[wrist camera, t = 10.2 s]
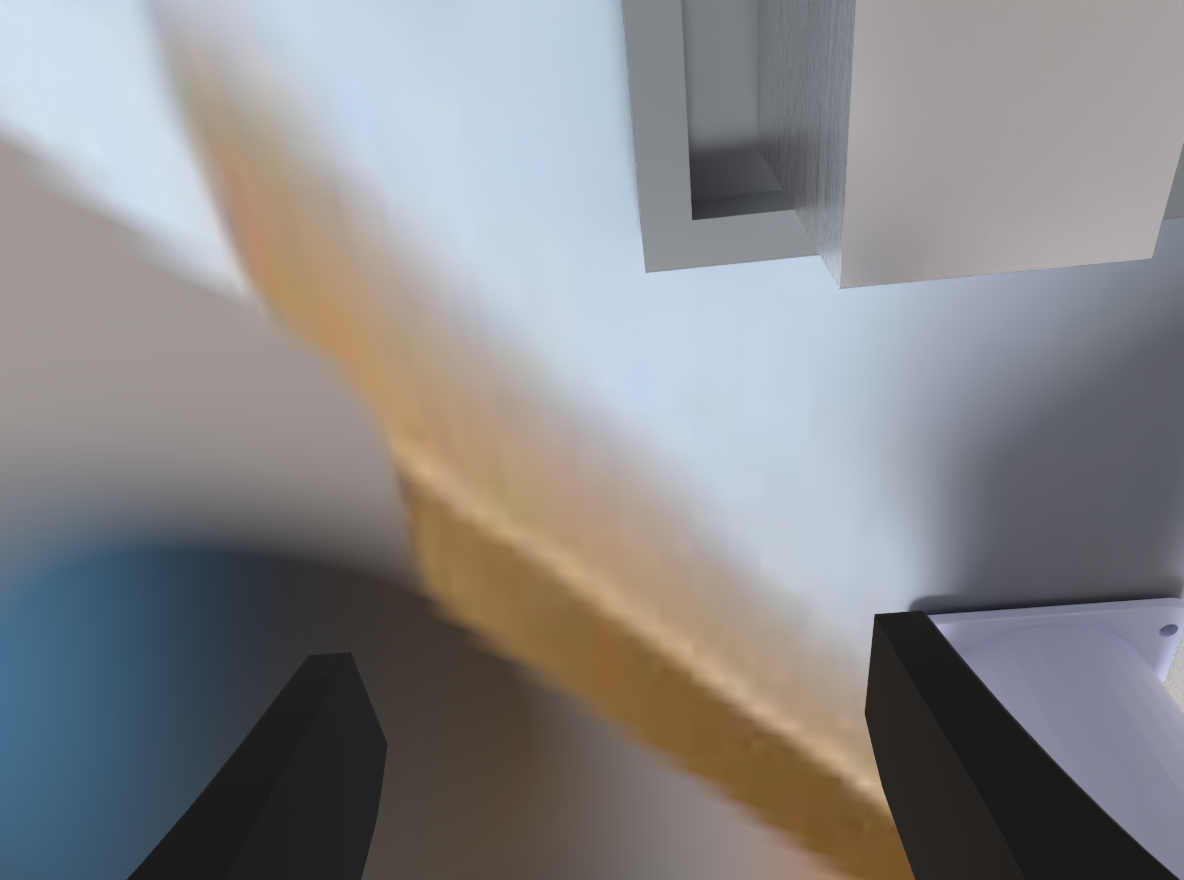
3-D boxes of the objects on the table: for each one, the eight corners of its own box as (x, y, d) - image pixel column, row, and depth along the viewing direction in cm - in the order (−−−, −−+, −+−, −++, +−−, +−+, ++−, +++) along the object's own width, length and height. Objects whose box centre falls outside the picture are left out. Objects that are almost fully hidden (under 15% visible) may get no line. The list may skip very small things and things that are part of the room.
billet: (960, 126, 17) (1152, 258, 11) (758, 148, 17) (840, 289, 11) (1000, -184, 14) (1285, -229, 8) (758, -152, 14) (865, -173, 8)
